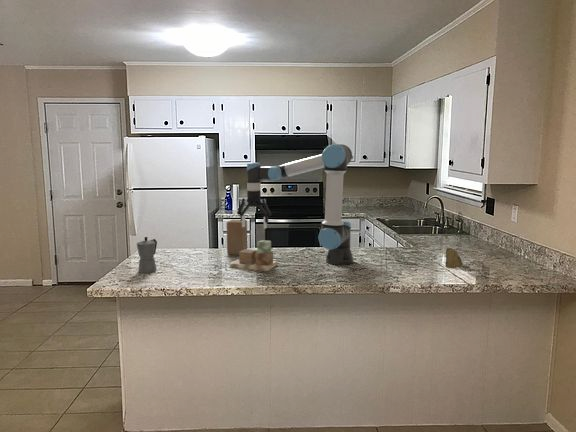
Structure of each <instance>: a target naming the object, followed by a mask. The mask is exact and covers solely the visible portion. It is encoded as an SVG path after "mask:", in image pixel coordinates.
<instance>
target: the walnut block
mask: <svg viewBox="0 0 576 432" xmlns="http://www.w3.org/2000/svg"><path fill="white" fill-rule="evenodd" d="M249 249H250V248H247V249H244V250H242V251H240V252H239V255H238V257H239V258H238V259H239V263H247V264H252V263H254V262H256V253H257V250H249Z"/></svg>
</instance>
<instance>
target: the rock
mask: <svg viewBox="0 0 576 432" xmlns="http://www.w3.org/2000/svg"><path fill="white" fill-rule="evenodd" d="M460 266H463V260H462V259H461V257H460V256H459V254H458V251H457V250H455V249H453V248H451V247H450V248H449V247H447V248H446V250H445V265H444V267H445V268H447V269H449V268H451V269H453V268H457V267H460Z"/></svg>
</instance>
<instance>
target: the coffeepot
mask: <svg viewBox="0 0 576 432" xmlns="http://www.w3.org/2000/svg"><path fill="white" fill-rule="evenodd" d="M143 238H144V240H141V241H138V242H136V247H137V252H138V256H139V263H138V273H140V274H153V273H155V272H157V265H156V260H155V256H154V255H155V254H156V251H157V245H158V242H157V240H156V239H155V238H153V239H149V237H148V236H145V237H143ZM148 239H149V240H148Z"/></svg>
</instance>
